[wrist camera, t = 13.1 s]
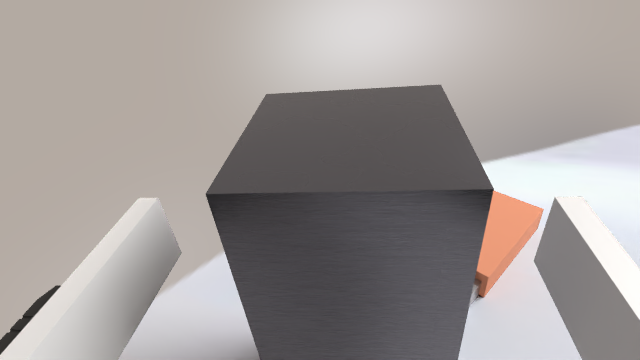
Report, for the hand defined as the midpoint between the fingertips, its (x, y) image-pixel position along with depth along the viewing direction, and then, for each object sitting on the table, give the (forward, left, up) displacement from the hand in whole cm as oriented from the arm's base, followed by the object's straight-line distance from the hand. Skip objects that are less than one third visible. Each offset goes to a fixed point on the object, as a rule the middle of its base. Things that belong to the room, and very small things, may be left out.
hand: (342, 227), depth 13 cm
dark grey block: (0, +1, -9) cm, 9 cm away
